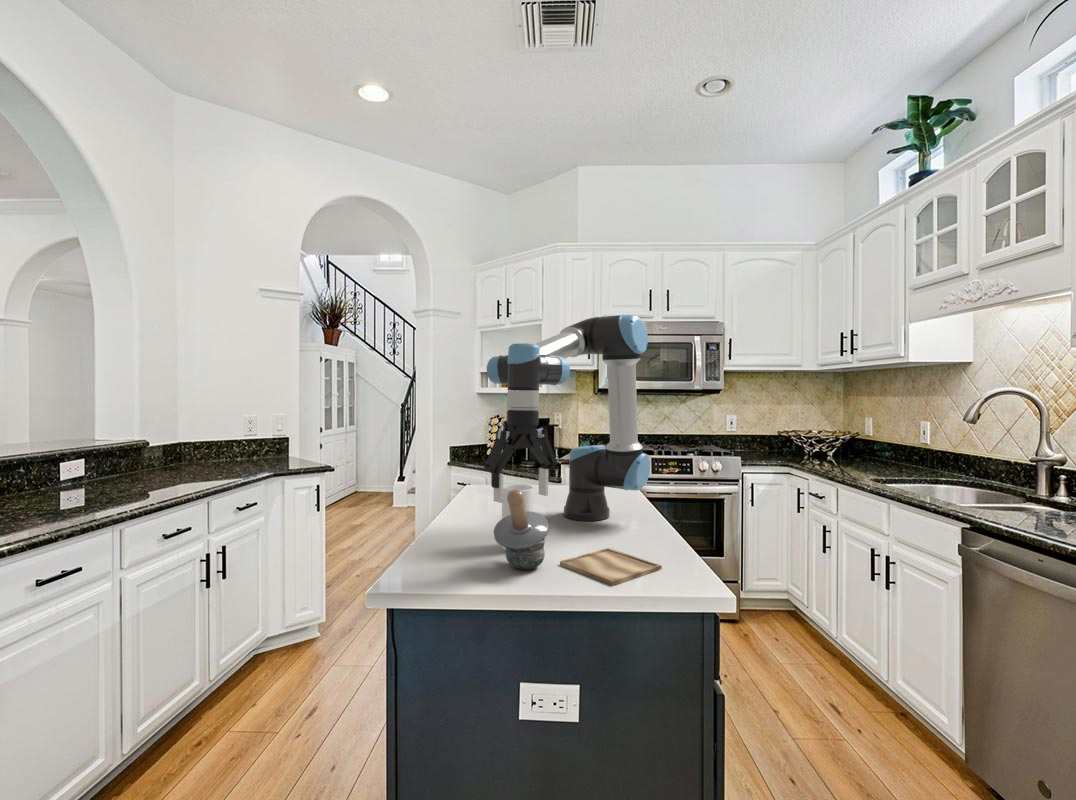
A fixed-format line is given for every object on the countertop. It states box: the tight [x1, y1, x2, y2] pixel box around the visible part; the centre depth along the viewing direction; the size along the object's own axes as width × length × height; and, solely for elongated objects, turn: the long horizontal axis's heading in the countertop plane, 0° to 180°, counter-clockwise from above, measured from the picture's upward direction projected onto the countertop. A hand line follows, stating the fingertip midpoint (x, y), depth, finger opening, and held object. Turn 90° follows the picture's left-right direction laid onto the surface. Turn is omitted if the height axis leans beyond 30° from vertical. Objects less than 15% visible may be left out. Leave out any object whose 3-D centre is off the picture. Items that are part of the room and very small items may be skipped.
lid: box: [493, 489, 550, 549], centre depth 125 cm, size 13×13×11 cm
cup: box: [501, 484, 534, 551], centre depth 143 cm, size 8×8×16 cm
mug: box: [505, 537, 547, 570], centre depth 129 cm, size 10×12×10 cm
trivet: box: [559, 547, 663, 587], centre depth 129 cm, size 17×17×1 cm
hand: (521, 498), depth 128 cm, fingers open, 13 cm apart
